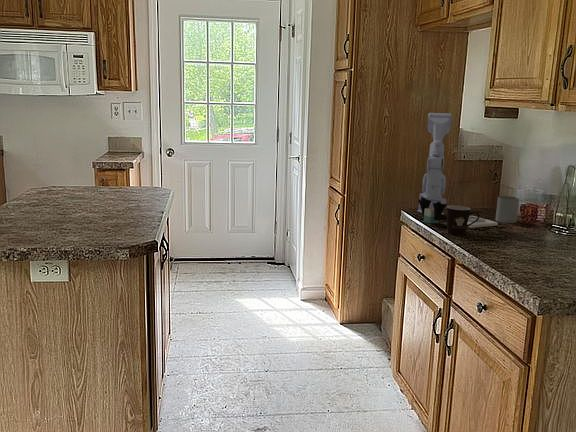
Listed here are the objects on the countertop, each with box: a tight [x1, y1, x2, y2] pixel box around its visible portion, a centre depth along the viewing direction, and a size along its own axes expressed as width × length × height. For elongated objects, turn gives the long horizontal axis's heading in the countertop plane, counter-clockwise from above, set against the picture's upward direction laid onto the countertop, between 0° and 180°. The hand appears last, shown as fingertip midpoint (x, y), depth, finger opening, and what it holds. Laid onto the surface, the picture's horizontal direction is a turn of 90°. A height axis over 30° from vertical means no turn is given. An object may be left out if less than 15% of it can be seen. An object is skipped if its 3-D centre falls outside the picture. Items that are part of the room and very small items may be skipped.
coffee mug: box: [446, 205, 480, 237], centre depth 213 cm, size 12×9×10 cm
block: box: [423, 208, 439, 224], centre depth 233 cm, size 4×4×6 cm
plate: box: [467, 215, 498, 229], centre depth 234 cm, size 14×14×2 cm
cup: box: [495, 195, 520, 224], centre depth 240 cm, size 8×8×10 cm
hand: (430, 218), depth 233 cm, fingers open, 7 cm apart
